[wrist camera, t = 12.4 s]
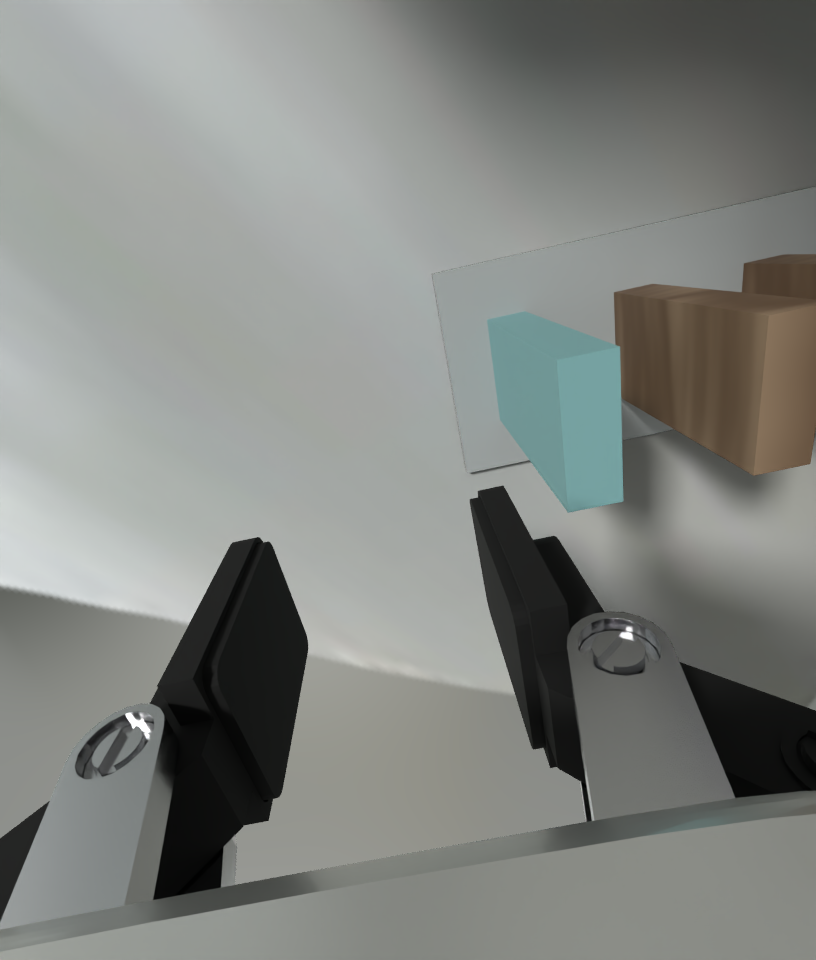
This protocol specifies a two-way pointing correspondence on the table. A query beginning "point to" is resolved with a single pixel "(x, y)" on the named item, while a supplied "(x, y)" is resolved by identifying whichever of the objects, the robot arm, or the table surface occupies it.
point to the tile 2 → (723, 369)
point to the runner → (599, 296)
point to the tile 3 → (782, 276)
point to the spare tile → (561, 405)
